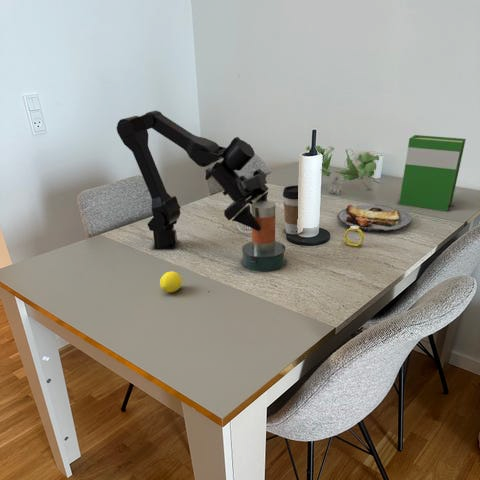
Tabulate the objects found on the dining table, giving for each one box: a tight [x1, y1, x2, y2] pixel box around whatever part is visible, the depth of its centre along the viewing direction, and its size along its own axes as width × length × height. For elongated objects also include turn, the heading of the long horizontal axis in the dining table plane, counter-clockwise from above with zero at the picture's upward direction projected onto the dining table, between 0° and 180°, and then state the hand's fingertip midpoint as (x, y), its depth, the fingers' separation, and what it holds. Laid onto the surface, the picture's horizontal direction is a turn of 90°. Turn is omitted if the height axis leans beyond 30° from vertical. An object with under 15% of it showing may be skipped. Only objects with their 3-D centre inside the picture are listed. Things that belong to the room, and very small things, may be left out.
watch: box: [343, 226, 365, 247], centre depth 145 cm, size 6×3×6 cm, turn 57°
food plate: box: [336, 204, 413, 232], centre depth 163 cm, size 25×23×4 cm
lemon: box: [159, 270, 183, 293], centre depth 123 cm, size 7×5×5 cm
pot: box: [241, 240, 286, 272], centre depth 137 cm, size 13×16×4 cm
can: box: [251, 200, 276, 253], centre depth 132 cm, size 7×7×13 cm
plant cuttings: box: [305, 145, 381, 195], centre depth 193 cm, size 35×17×22 cm
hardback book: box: [398, 134, 467, 212], centre depth 172 cm, size 18×7×24 cm, turn 58°
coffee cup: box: [282, 185, 299, 236], centre depth 154 cm, size 8×8×15 cm
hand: (266, 224), depth 131 cm, fingers open, 9 cm apart
